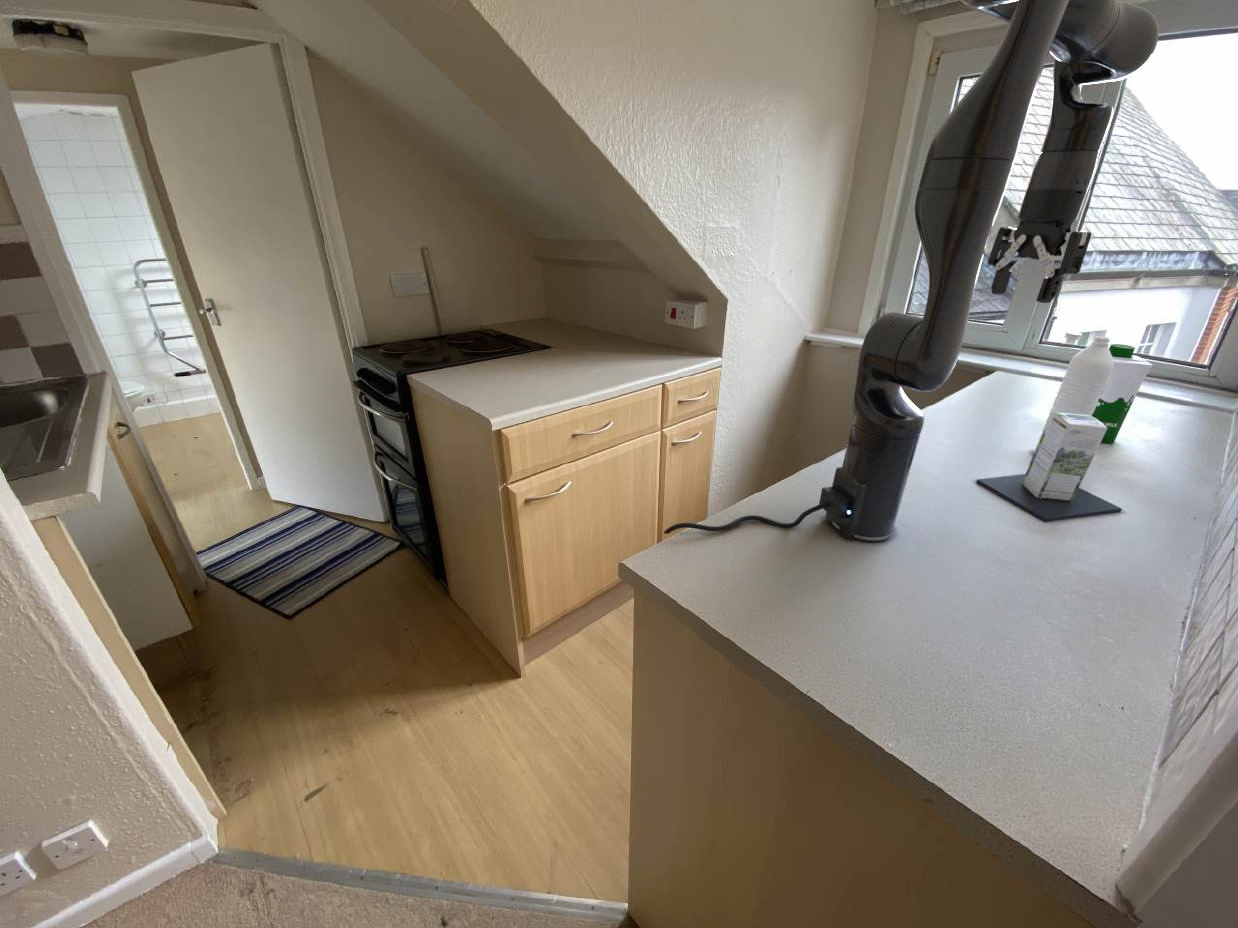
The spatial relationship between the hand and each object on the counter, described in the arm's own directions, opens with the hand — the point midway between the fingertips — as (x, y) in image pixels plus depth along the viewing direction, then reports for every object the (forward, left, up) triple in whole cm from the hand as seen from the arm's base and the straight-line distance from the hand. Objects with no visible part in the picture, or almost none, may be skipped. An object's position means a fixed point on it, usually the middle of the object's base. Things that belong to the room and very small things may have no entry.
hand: (1019, 298), depth 87 cm
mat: (+9, -10, -33) cm, 36 cm away
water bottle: (+25, +4, -33) cm, 42 cm away
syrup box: (+9, -10, -33) cm, 35 cm away
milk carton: (+45, +11, -33) cm, 57 cm away
